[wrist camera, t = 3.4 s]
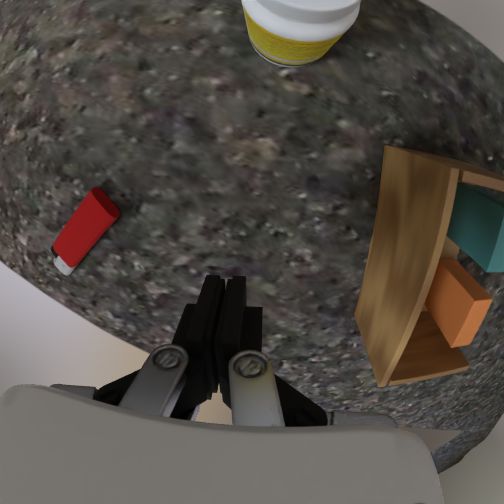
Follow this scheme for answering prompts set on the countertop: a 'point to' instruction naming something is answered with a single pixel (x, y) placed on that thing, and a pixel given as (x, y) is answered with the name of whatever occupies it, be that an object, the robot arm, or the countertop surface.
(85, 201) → the lighter
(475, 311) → the block
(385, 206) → the wooden crate
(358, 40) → the countertop surface
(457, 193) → the block
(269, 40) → the supplement bottle
